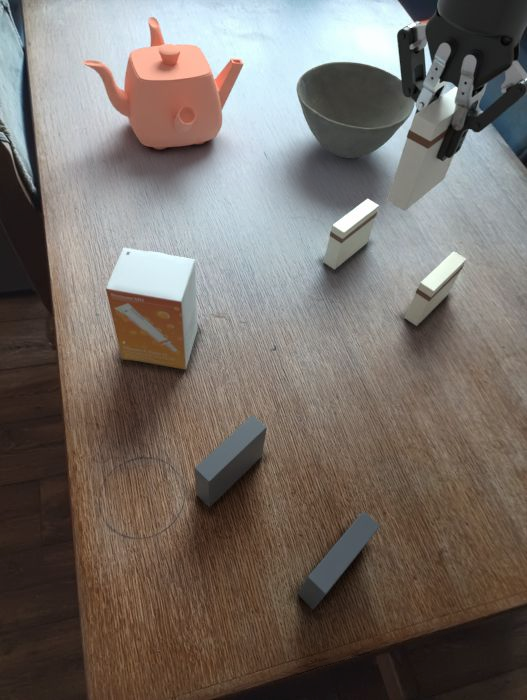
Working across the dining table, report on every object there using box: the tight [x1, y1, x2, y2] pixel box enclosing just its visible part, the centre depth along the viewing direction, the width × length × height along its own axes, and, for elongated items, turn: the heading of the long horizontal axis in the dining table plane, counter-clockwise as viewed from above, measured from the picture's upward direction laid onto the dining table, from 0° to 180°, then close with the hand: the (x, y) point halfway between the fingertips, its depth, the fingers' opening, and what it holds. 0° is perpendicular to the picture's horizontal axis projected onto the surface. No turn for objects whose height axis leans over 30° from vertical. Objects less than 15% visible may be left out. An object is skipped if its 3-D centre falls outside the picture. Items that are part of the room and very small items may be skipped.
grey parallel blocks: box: [194, 414, 381, 610], centre depth 53 cm, size 16×8×7 cm, turn 47°
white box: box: [386, 86, 458, 212], centre depth 56 cm, size 2×8×10 cm, turn 137°
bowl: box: [296, 61, 416, 159], centre depth 90 cm, size 19×19×10 cm
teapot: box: [82, 16, 244, 150], centre depth 87 cm, size 18×18×14 cm
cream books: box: [323, 198, 467, 327], centre depth 74 cm, size 16×8×7 cm, turn 47°
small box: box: [105, 247, 198, 370], centre depth 62 cm, size 8×6×13 cm
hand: (430, 148), depth 56 cm, fingers closed on white box, 2 cm apart
